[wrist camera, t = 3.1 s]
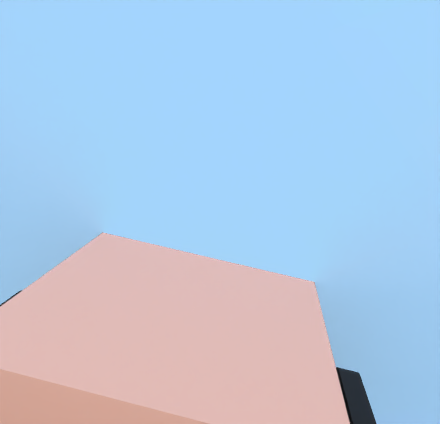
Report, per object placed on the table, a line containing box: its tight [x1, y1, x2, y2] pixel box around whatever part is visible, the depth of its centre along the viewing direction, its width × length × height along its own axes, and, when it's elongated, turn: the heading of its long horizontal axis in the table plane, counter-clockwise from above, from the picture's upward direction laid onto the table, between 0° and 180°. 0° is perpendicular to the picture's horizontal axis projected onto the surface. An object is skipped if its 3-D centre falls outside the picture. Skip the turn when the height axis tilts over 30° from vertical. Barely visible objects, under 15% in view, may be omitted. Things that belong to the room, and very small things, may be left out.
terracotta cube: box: [0, 233, 350, 424], centre depth 9 cm, size 6×6×6 cm
